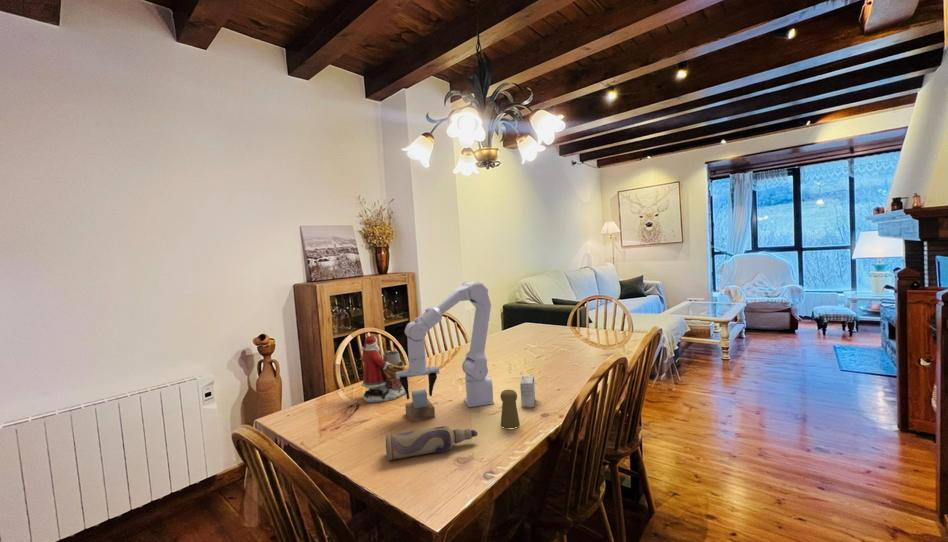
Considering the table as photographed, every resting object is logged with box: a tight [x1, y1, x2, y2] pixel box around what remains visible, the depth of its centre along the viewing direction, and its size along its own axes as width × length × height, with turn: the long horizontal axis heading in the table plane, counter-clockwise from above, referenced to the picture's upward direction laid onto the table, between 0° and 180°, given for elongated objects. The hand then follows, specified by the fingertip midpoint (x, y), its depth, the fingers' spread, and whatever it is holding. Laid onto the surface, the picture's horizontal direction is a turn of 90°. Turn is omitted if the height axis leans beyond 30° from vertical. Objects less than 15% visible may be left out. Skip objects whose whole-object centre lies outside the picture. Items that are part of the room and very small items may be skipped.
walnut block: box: [404, 398, 436, 424], centre depth 134 cm, size 8×8×4 cm
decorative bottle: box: [385, 425, 478, 461], centre depth 110 cm, size 26×8×7 cm, turn 104°
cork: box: [500, 389, 521, 429], centre depth 123 cm, size 6×6×11 cm
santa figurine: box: [360, 335, 406, 404], centre depth 154 cm, size 17×14×25 cm
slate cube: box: [411, 388, 428, 409], centre depth 134 cm, size 4×4×4 cm
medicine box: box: [519, 375, 536, 408], centre depth 140 cm, size 8×4×9 cm, turn 168°
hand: (419, 396), depth 134 cm, fingers open, 7 cm apart
